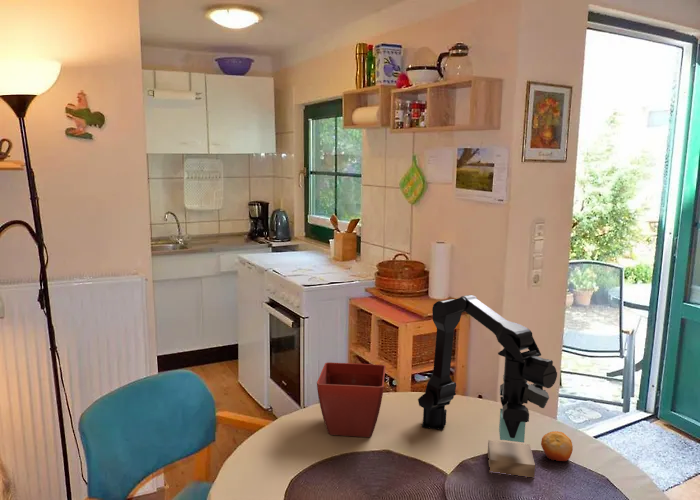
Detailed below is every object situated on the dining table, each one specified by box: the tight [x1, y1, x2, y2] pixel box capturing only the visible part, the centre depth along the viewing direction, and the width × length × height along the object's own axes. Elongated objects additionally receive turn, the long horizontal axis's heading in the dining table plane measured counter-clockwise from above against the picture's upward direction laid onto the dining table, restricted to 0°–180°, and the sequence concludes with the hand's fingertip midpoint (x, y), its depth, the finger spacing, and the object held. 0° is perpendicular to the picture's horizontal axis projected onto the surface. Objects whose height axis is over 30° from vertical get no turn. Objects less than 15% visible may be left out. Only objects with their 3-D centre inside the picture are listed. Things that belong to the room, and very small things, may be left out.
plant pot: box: [316, 362, 387, 438], centre depth 168 cm, size 19×19×17 cm
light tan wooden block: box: [487, 439, 536, 478], centre depth 148 cm, size 11×11×4 cm
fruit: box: [540, 430, 574, 462], centre depth 153 cm, size 8×8×8 cm
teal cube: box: [498, 408, 527, 444], centre depth 147 cm, size 6×6×6 cm
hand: (511, 432), depth 147 cm, fingers closed on teal cube, 6 cm apart
